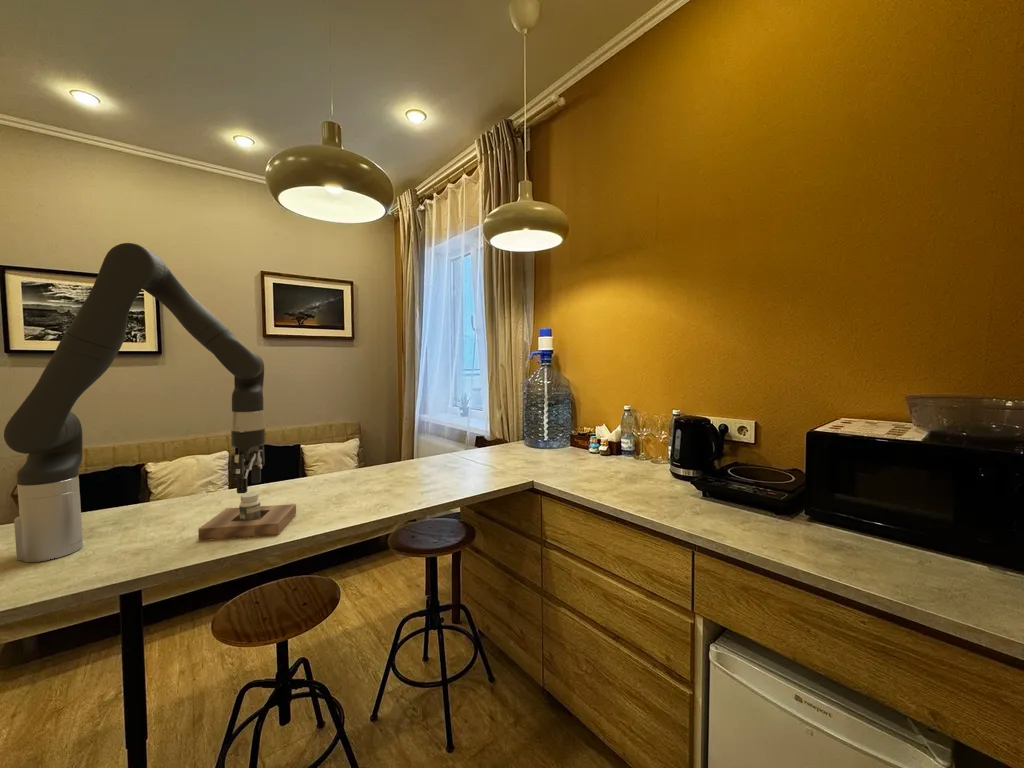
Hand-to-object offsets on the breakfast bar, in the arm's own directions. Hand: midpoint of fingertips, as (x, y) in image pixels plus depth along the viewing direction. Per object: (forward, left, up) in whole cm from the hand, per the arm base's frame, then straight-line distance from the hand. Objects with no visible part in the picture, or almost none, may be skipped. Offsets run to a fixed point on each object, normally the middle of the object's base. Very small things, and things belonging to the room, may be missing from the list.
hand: (249, 487), depth 108 cm
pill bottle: (0, 0, -10) cm, 10 cm away
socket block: (0, 0, -11) cm, 11 cm away
